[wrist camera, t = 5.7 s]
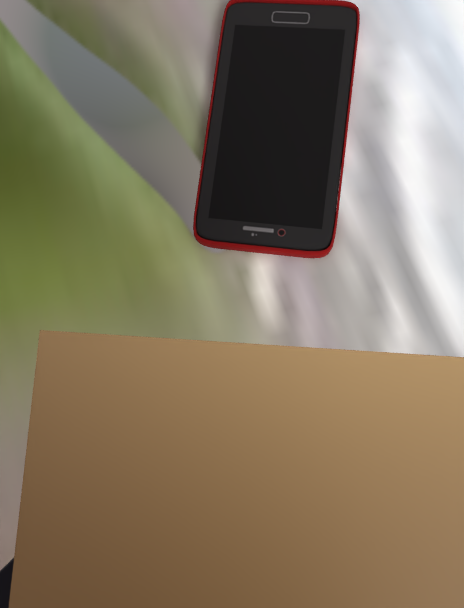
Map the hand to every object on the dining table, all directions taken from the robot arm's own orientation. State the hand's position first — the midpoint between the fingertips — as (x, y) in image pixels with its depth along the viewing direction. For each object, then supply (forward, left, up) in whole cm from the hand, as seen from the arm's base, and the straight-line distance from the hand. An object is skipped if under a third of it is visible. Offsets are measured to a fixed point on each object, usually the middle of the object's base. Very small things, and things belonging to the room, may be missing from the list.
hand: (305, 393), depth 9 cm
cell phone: (+7, +11, -14) cm, 19 cm away
